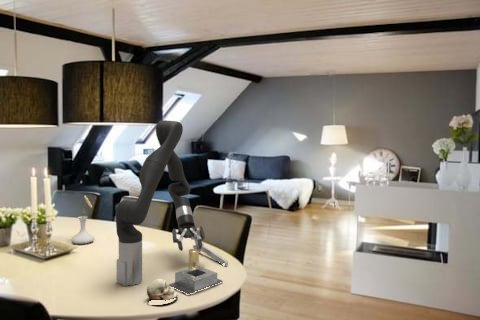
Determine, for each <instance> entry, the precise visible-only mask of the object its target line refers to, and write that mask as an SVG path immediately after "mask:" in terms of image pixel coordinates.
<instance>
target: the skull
mask: <svg viewBox="0 0 480 320" xmlns="http://www.w3.org/2000/svg"><path fill="white" fill-rule="evenodd" d="M169 284H170V283H167V280H166V279H164V278H157V279H154V280H152V281H151V282H150V283H149V284H148V286H147V288H146V294H147V297H148V298H149V300H150V299H151V300H165V301H166V300H170V299H174V298H177V299H178V298H179V297H177V296H178V294H177V293H176V292H175V289H173V288H171V286H170V285H169ZM175 302H176V301H175V300H174V301H173V302H172V303H175Z"/></svg>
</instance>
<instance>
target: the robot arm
mask: <svg viewBox="0 0 480 320" xmlns="http://www.w3.org/2000/svg"><path fill="white" fill-rule="evenodd" d="M183 127H184V126H183V124H182V123H181V121H178V120H177V121H176V120H167V119H166V120H162V119H161V120H159V121H158V122H157V123H156V126H155V134H156V135H155V136H156V138H157V141H158V144H159V147H158V148H157V149H155V150H153V152H151V153H150V154H148V156H147V157H146V158H145V159H144V162H143V164H142V165H141V169H140V170H139V180H140V186H141V188H140V193H139V196H138V198H137V199H136V200H129V199H128V200H127V199H126V200H125V199H124V200H122V201H120V202H119V203H118V205H117V206H116V209H115V224H116V235H117V237H118V258H117V259H116V283H118V284H119V285H121V286H123V287H127V286H128V285H131V286H136V285H138V283H139V284H141V283H142V282H143V233H142V232H141V231H140V230H139V229H137V228H136V227H135V226H139V225H141V224H142V223H144V222H145V220H146V217H147V215H148V213H149V210H150V206H151V203H152V200H153V197H154V195H155V192H156V190H157V187H158V185H159V182H160V181H161V179H162V177H163V174H164V173H165V170H166V167H167V173H168V176H169V179H170V180H171V181H172V183H170V184H168V188H167V192H168V193H169V196H170V197H171V200H172V201H173V203H174V207H175V215H176V218H175V219H176V221H177V227H178V229H176V228H173V229H172V232H171V234H172V235H171V236H172V242H173V243H174V244H177V247H178V250H179V251H180V252H181V251H183V249H184V248H183V247H184V246H183V242H182V241H183V239H191V238H192V237H193V238H194V239H196V240H197V241H198V246H199V249H201V248H202V243H203V241H204V240H205V238H206V236H205V231H204V229H203V226H199V227H196V225H195V219H194V214H193V211H192V208H191V204H190V200H189V198H188V197H185V196H188V195H189V194H190V193H191V187H190V184H189V182H188V180H187V179H186V176H185V172H184V168H183V162H182V161H181V158H180V157H179V156H178V154H177V153H176V152H175V149H176V147H177V146H178V143H179V141H180V140H181V138H182V136H183V131H184V130H183V129H184V128H183ZM173 182H174V183H173ZM197 232H198V233H197ZM178 234H179V238H177V237H178V236H177V235H178ZM141 281H142V282H141ZM140 282H141V283H140ZM135 284H136V285H135ZM128 287H129V286H128Z"/></svg>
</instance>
